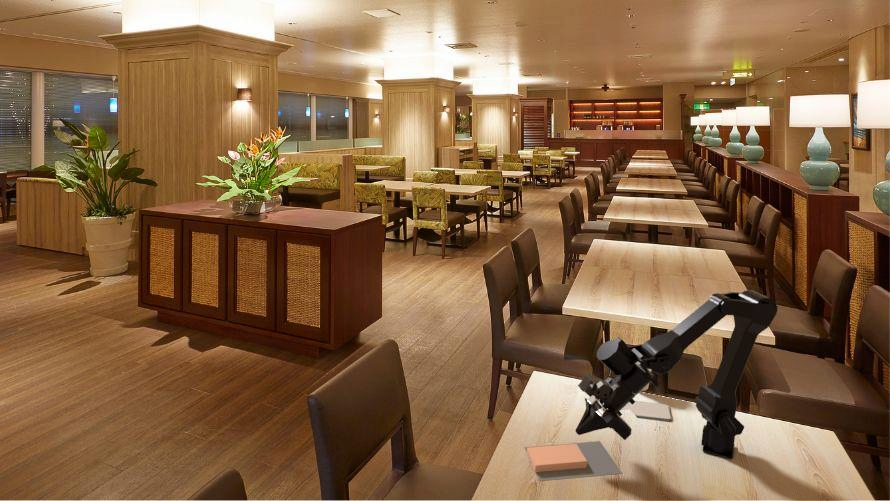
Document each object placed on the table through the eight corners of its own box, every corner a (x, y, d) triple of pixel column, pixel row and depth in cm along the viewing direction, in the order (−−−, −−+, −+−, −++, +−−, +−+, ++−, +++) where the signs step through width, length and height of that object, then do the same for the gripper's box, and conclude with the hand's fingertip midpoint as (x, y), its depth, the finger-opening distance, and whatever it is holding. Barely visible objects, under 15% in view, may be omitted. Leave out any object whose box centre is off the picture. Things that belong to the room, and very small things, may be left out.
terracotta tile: (576, 443, 133) (527, 447, 132) (587, 461, 127) (535, 465, 125) (575, 450, 134) (526, 454, 132) (586, 468, 127) (535, 472, 126)
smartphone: (612, 398, 158) (668, 404, 154) (611, 401, 159) (668, 407, 155) (612, 413, 151) (671, 419, 147) (612, 416, 151) (671, 423, 147)
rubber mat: (599, 442, 138) (599, 441, 138) (622, 475, 125) (622, 473, 125) (524, 449, 135) (524, 447, 135) (539, 482, 123) (539, 480, 123)
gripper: (588, 347, 134) (541, 392, 136) (621, 383, 116) (567, 434, 118) (617, 376, 137) (571, 420, 138) (654, 415, 119) (601, 465, 120)
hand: (577, 433), depth 129 cm, fingers closed
